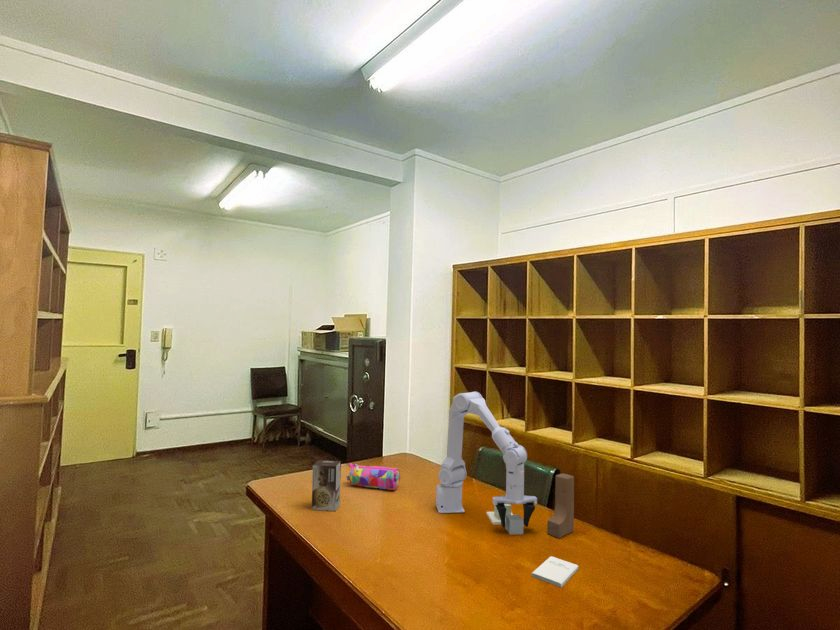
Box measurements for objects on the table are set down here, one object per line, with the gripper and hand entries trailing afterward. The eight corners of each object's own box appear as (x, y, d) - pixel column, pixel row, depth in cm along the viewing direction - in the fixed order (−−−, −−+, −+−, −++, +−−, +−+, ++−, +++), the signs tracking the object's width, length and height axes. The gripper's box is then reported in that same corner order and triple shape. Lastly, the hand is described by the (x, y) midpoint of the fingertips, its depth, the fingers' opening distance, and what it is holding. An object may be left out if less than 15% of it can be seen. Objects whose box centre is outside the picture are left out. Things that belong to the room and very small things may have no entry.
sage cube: (498, 519, 154) (498, 506, 154) (494, 514, 158) (494, 501, 159) (510, 519, 155) (511, 505, 155) (506, 514, 159) (506, 501, 159)
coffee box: (340, 505, 166) (341, 460, 167) (335, 511, 160) (337, 465, 161) (316, 503, 167) (318, 459, 168) (310, 510, 161) (312, 464, 161)
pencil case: (344, 488, 185) (345, 466, 185) (353, 481, 194) (354, 460, 195) (394, 494, 179) (395, 471, 180) (401, 486, 189) (402, 465, 189)
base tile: (493, 526, 152) (493, 522, 152) (486, 516, 161) (486, 511, 161) (518, 526, 153) (518, 521, 153) (510, 515, 162) (510, 511, 162)
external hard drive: (531, 578, 119) (550, 560, 129) (561, 590, 114) (578, 570, 124) (531, 572, 119) (550, 555, 129) (561, 583, 114) (578, 564, 124)
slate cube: (509, 534, 145) (510, 520, 145) (505, 528, 149) (505, 515, 149) (523, 534, 145) (523, 520, 145) (518, 528, 149) (518, 514, 150)
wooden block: (559, 538, 142) (559, 481, 143) (546, 533, 146) (547, 477, 146) (574, 531, 148) (574, 476, 149) (562, 526, 151) (562, 472, 152)
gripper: (497, 488, 143) (496, 531, 142) (540, 487, 145) (540, 530, 144) (491, 481, 150) (490, 522, 149) (532, 480, 152) (532, 521, 151)
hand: (514, 526), depth 147 cm, fingers open, 7 cm apart
